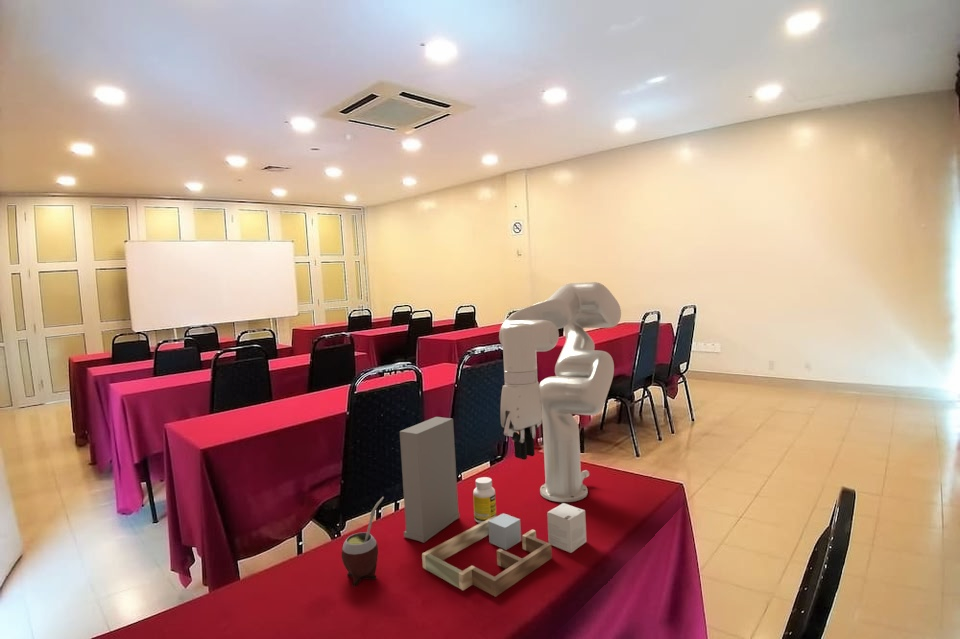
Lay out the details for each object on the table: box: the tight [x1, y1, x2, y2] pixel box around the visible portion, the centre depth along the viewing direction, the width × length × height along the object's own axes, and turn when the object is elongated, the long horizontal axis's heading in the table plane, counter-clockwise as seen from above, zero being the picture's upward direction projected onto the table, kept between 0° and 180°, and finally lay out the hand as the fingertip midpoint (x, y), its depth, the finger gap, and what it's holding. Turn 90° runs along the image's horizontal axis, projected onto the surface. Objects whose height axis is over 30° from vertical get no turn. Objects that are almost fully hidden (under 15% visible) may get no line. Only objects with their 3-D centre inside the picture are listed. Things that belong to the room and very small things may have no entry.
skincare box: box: [546, 502, 587, 554], centre depth 110 cm, size 6×6×7 cm
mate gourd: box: [341, 496, 385, 587], centre depth 102 cm, size 8×8×15 cm
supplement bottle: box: [472, 476, 497, 524], centre depth 124 cm, size 5×5×10 cm
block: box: [488, 512, 522, 551], centre depth 112 cm, size 5×5×5 cm
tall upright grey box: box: [399, 416, 460, 544], centre depth 120 cm, size 14×6×25 cm, turn 147°
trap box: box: [421, 514, 553, 597], centre depth 105 cm, size 22×18×3 cm
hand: (524, 455), depth 117 cm, fingers closed
